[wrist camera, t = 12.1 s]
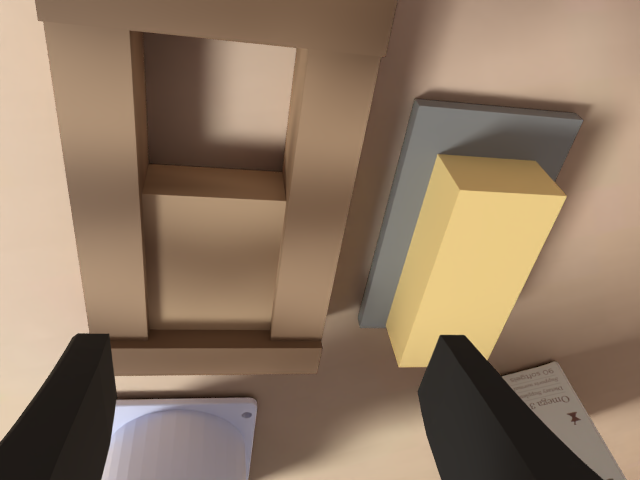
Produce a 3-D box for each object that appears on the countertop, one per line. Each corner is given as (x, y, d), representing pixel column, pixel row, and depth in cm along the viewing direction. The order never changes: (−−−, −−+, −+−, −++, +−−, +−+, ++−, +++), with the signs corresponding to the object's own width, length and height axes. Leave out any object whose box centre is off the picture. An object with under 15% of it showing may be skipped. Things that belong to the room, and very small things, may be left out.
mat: (482, 319, 27) (486, 328, 27) (357, 318, 26) (360, 328, 26) (575, 113, 21) (583, 120, 20) (414, 98, 20) (419, 105, 19)
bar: (465, 325, 26) (484, 366, 24) (385, 325, 26) (398, 367, 24) (535, 160, 21) (567, 196, 19) (437, 154, 20) (459, 190, 18)
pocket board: (308, 322, 26) (316, 373, 23) (106, 321, 24) (93, 376, 22) (374, -29, 17) (398, -4, 14) (58, -72, 15) (27, -51, 13)
